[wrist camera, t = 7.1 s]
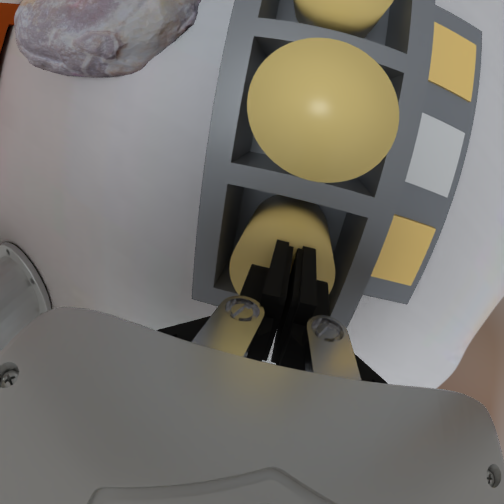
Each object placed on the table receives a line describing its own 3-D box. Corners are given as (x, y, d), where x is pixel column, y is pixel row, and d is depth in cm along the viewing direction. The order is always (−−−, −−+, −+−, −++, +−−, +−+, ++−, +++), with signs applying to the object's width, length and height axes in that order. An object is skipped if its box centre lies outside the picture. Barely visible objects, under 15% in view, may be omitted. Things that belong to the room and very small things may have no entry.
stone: (217, 44, 19) (230, -56, 9) (146, 117, 16) (122, -18, 6) (84, 25, 18) (69, -43, 9) (17, 84, 15) (-18, 13, 6)
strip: (405, 299, 20) (408, 307, 19) (349, 287, 20) (350, 294, 19) (477, 33, 9) (484, 30, 8) (418, 1, 10) (423, -4, 9)
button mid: (353, 171, 12) (378, 200, 8) (260, 148, 13) (235, 164, 8) (373, 82, 10) (410, 64, 6) (277, 58, 11) (261, 26, 6)
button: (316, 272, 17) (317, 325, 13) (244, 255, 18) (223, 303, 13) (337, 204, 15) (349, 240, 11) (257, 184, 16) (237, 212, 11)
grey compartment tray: (336, 284, 20) (342, 335, 15) (217, 255, 21) (191, 298, 16) (405, -5, 10) (434, -37, 5) (271, -36, 10) (257, -79, 6)
